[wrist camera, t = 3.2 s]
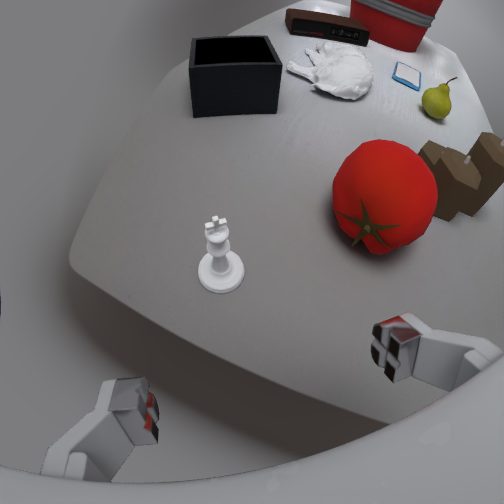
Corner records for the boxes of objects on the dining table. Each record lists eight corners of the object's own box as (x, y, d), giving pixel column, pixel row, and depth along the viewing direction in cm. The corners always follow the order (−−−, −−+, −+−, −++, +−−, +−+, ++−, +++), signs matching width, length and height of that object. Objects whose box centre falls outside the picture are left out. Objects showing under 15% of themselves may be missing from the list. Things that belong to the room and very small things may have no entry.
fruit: (416, 114, 50) (436, 70, 39) (417, 101, 53) (435, 61, 42) (443, 129, 49) (466, 87, 38) (442, 115, 52) (462, 76, 41)
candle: (470, 177, 42) (510, 121, 29) (483, 236, 36) (539, 179, 23) (411, 150, 44) (446, 83, 30) (417, 209, 37) (470, 134, 24)
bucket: (394, 59, 65) (420, -23, 38) (318, 18, 78) (330, -50, 52) (443, 61, 74) (466, 1, 48) (377, 22, 88) (391, -33, 61)
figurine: (257, 64, 54) (259, 39, 48) (326, 47, 63) (330, 27, 57) (340, 110, 47) (349, 82, 41) (396, 85, 56) (404, 64, 50)
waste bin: (193, 118, 44) (188, 68, 35) (194, 80, 50) (191, 38, 42) (276, 113, 45) (282, 64, 37) (263, 76, 51) (267, 35, 43)
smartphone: (420, 72, 61) (420, 88, 55) (419, 75, 62) (418, 92, 56) (397, 60, 63) (393, 75, 56) (396, 64, 64) (391, 79, 57)
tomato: (369, 197, 42) (326, 259, 37) (349, 120, 34) (294, 174, 29) (449, 211, 33) (420, 287, 28) (443, 123, 25) (416, 188, 20)
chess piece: (192, 258, 32) (177, 203, 23) (235, 245, 33) (235, 187, 24) (206, 299, 30) (193, 254, 21) (251, 284, 31) (256, 235, 22)
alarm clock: (289, 34, 66) (291, 17, 60) (284, 23, 71) (286, 8, 66) (366, 47, 67) (371, 31, 62) (355, 34, 72) (358, 20, 67)
